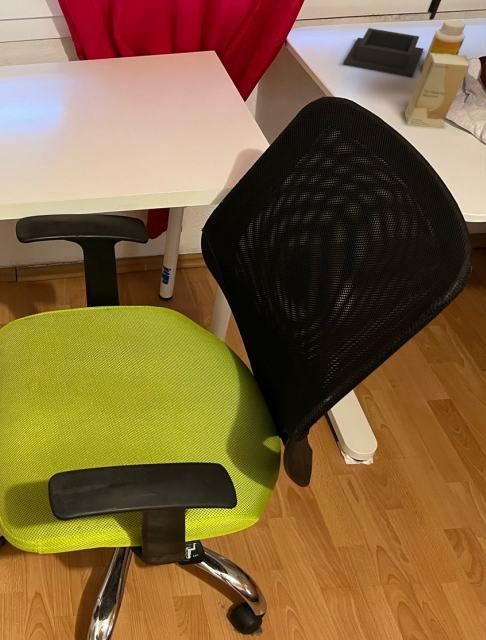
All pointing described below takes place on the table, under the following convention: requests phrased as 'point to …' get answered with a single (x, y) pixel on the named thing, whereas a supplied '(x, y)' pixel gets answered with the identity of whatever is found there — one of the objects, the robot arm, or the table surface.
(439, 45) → the supplement bottle
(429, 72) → the cosmetic box
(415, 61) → the dark grey box holder
